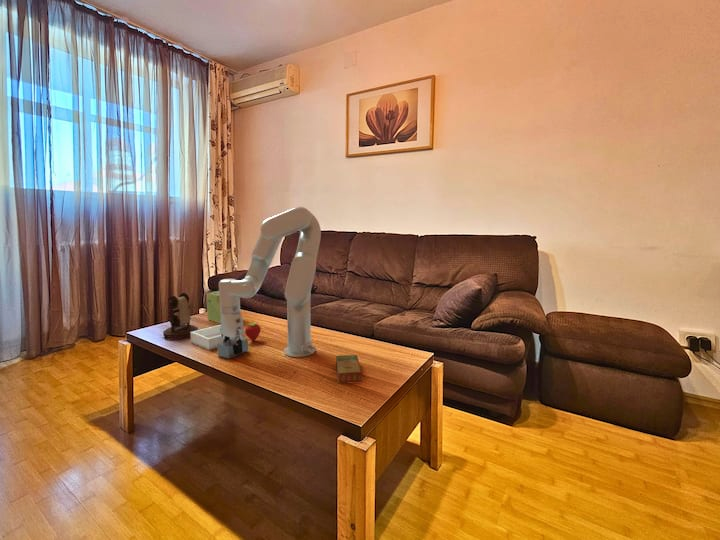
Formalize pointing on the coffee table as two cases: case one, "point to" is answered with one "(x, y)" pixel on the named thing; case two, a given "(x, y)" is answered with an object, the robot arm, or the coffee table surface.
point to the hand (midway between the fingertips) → (233, 351)
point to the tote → (207, 337)
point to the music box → (180, 323)
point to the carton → (348, 369)
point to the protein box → (213, 306)
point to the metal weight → (230, 348)
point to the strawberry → (253, 331)
